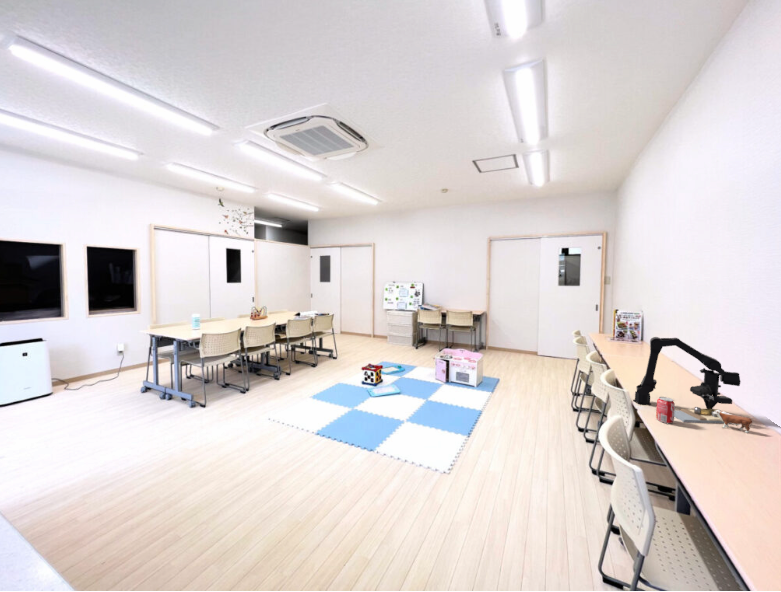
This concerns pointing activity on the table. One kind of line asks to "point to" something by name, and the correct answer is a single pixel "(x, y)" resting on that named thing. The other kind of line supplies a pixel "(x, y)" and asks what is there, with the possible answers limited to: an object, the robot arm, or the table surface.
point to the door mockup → (696, 417)
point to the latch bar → (703, 410)
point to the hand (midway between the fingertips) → (708, 410)
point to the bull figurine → (733, 420)
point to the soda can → (665, 410)
